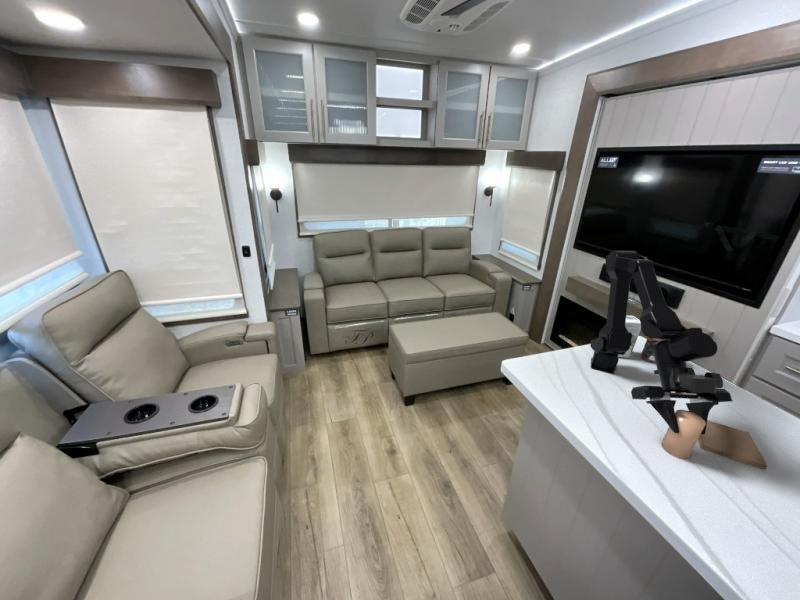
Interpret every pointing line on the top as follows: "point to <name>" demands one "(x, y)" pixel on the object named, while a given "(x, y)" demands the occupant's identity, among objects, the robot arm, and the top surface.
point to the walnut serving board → (731, 444)
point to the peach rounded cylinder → (683, 434)
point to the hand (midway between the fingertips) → (689, 433)
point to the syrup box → (633, 327)
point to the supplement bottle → (649, 354)
